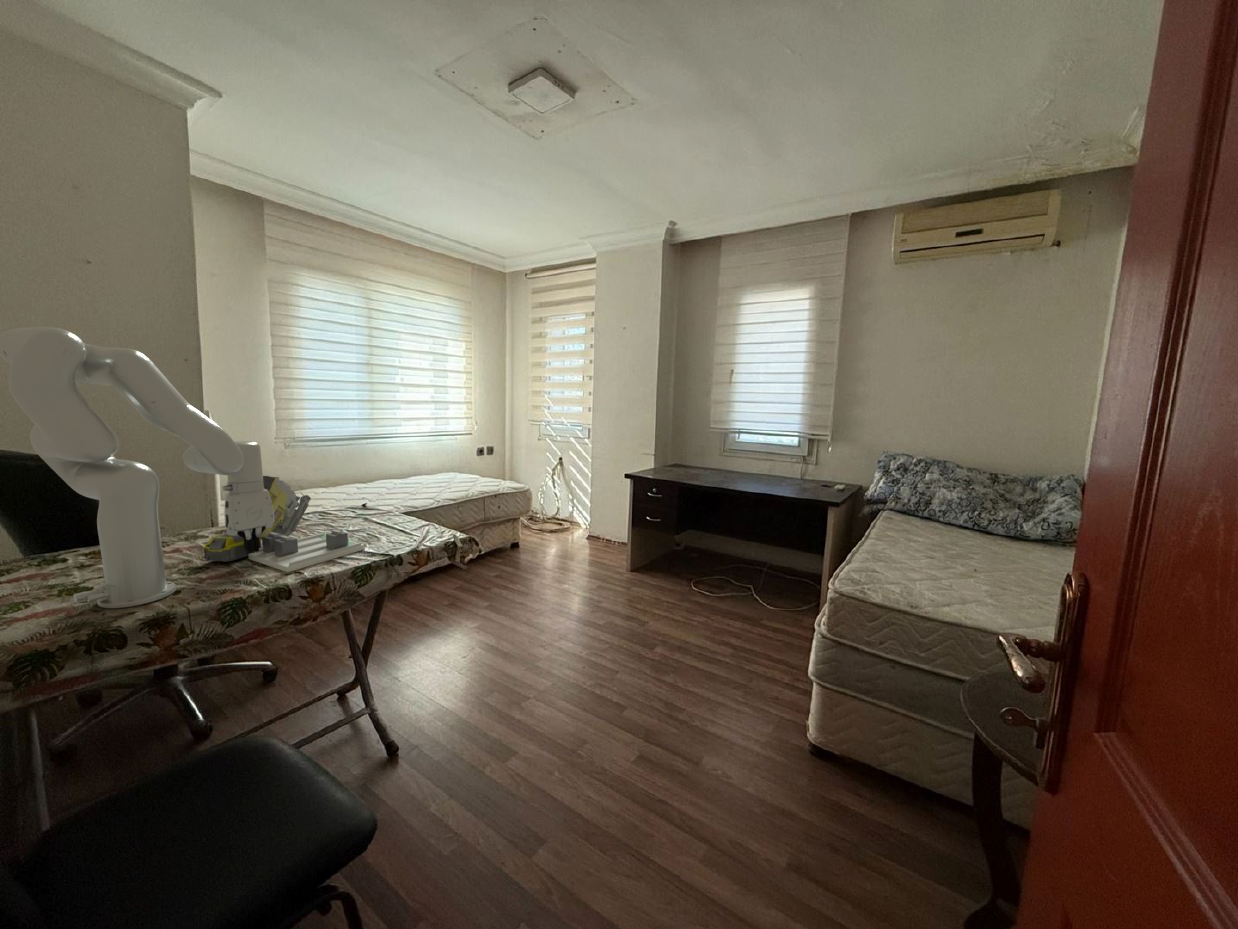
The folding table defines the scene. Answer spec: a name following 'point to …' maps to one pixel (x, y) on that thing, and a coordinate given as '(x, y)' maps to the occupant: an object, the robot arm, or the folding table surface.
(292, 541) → the tab mid
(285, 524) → the circular saw
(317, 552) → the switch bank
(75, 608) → the folding table surface
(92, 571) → the folding table surface
